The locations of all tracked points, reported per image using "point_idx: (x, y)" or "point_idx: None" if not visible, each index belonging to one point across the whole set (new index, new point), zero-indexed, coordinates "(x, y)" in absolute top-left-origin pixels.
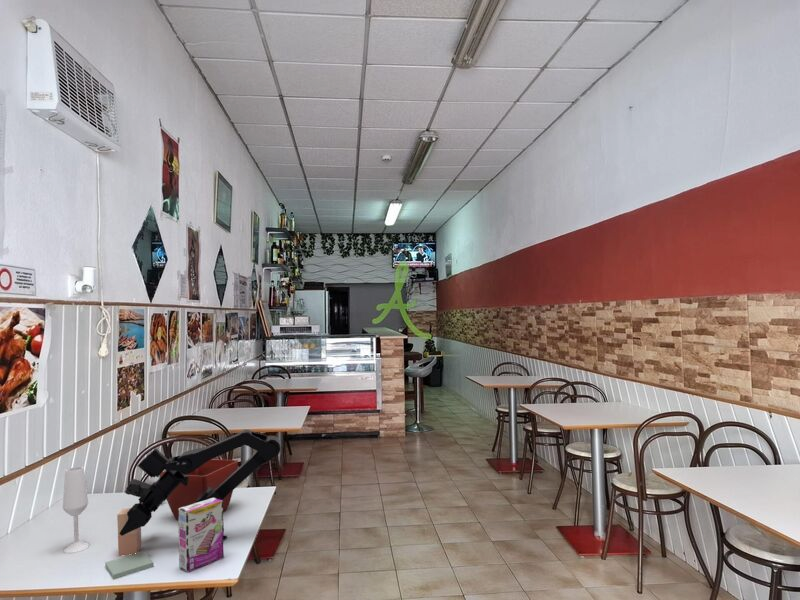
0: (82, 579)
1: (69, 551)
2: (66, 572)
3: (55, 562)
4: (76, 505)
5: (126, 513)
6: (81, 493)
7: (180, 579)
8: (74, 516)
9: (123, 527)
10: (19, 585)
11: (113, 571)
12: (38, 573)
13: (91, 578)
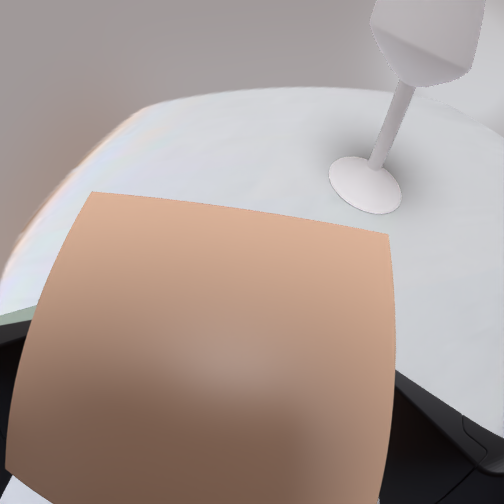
0: (57, 235)
1: (335, 166)
2: (147, 182)
3: (260, 146)
4: (384, 18)
5: (45, 324)
6: None
7: None
8: (398, 77)
9: (24, 324)
10: (146, 116)
11: (3, 320)
12: (196, 128)
13: (44, 260)
